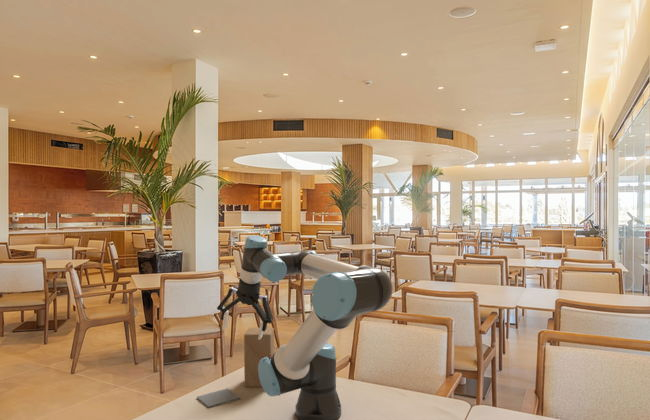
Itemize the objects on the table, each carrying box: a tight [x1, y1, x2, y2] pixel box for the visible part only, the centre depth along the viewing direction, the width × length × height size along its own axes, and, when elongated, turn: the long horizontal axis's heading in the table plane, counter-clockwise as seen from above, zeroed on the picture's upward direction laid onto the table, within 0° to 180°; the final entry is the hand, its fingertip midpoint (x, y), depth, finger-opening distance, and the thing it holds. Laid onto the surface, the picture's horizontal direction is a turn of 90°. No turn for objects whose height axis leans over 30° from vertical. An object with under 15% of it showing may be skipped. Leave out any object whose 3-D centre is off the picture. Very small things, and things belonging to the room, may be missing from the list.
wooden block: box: [243, 327, 275, 388], centre depth 181 cm, size 10×10×20 cm
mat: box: [196, 387, 241, 409], centre depth 166 cm, size 10×12×1 cm
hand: (242, 333), depth 168 cm, fingers open, 13 cm apart
